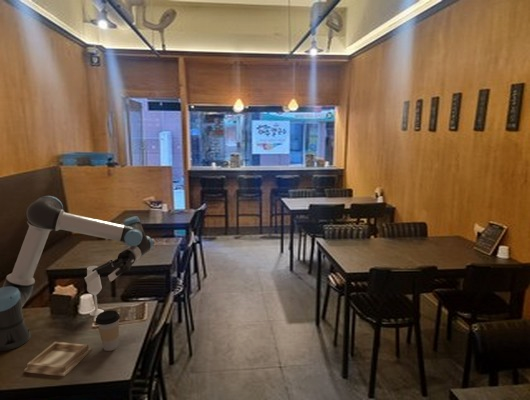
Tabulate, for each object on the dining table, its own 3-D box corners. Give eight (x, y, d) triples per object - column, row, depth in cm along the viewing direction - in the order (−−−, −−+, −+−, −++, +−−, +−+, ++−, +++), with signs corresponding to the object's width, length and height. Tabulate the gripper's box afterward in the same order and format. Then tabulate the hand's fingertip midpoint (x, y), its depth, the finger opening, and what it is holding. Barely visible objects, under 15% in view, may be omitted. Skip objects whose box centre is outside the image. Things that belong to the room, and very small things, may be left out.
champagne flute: (96, 316, 186) (91, 271, 182) (86, 314, 189) (81, 269, 184) (107, 310, 193) (102, 266, 188) (97, 308, 195) (92, 264, 191)
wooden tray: (24, 371, 145) (23, 364, 144) (55, 346, 161) (54, 340, 161) (64, 376, 142) (63, 369, 141) (91, 350, 158) (91, 343, 158)
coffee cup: (126, 347, 161) (123, 314, 158) (103, 356, 154) (100, 322, 151) (116, 338, 167) (113, 307, 164) (95, 346, 161) (91, 314, 158)
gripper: (152, 260, 176) (123, 285, 157) (112, 265, 185) (80, 288, 167) (147, 246, 174) (116, 269, 155) (106, 251, 183) (73, 274, 165)
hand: (97, 279), depth 161 cm, fingers open, 13 cm apart
